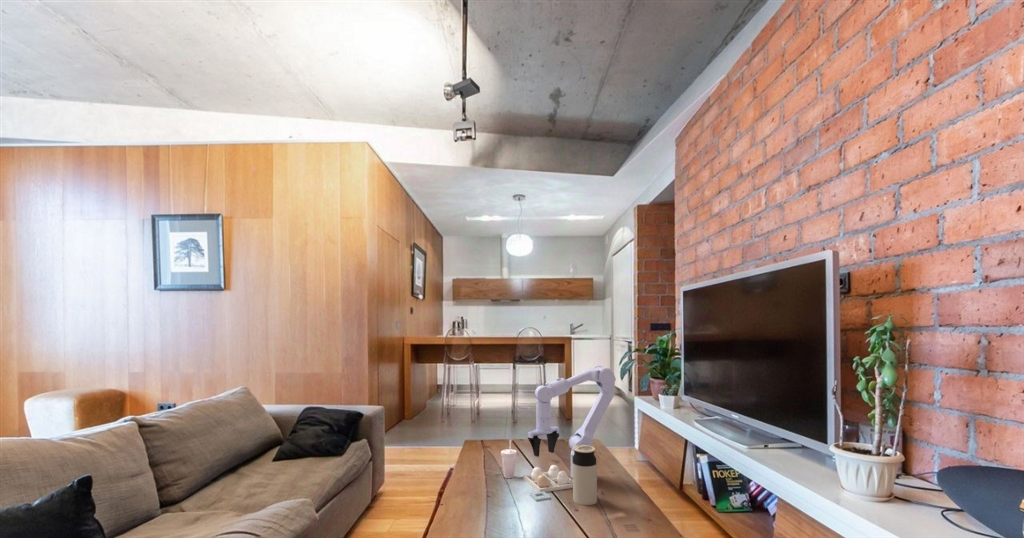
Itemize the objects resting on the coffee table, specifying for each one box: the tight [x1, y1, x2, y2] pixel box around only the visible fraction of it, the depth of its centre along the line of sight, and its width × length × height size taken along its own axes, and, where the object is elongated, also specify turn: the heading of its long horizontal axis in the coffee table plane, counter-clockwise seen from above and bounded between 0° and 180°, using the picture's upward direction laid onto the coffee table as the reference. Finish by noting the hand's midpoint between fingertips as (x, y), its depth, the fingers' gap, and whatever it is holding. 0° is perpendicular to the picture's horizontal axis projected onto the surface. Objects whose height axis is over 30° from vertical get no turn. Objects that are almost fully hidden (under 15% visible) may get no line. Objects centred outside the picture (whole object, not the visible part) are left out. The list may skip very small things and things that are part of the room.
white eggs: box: [530, 464, 570, 485], centre depth 170 cm, size 12×12×5 cm
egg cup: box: [529, 491, 552, 502], centre depth 156 cm, size 6×6×2 cm
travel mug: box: [572, 445, 598, 506], centre depth 154 cm, size 8×8×18 cm
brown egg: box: [537, 475, 551, 488], centre depth 164 cm, size 5×5×5 cm
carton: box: [522, 471, 573, 493], centre depth 169 cm, size 15×15×2 cm
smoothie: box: [500, 439, 518, 480], centre depth 179 cm, size 6×6×14 cm
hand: (543, 454), depth 175 cm, fingers open, 7 cm apart
